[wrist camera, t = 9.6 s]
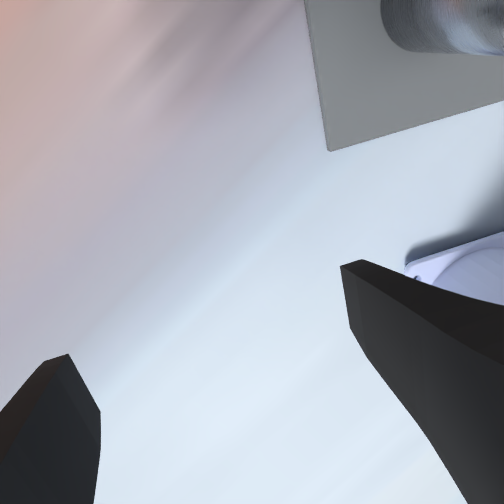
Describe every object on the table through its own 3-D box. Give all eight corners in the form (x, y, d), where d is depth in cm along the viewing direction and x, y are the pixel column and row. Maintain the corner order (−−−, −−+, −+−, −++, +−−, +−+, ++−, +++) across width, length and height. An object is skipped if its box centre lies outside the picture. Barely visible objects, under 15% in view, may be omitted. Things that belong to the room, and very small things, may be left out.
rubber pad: (521, 92, 21) (527, 93, 21) (327, 150, 20) (330, 151, 20) (533, -178, 17) (542, -183, 16) (285, -119, 16) (288, -123, 15)
